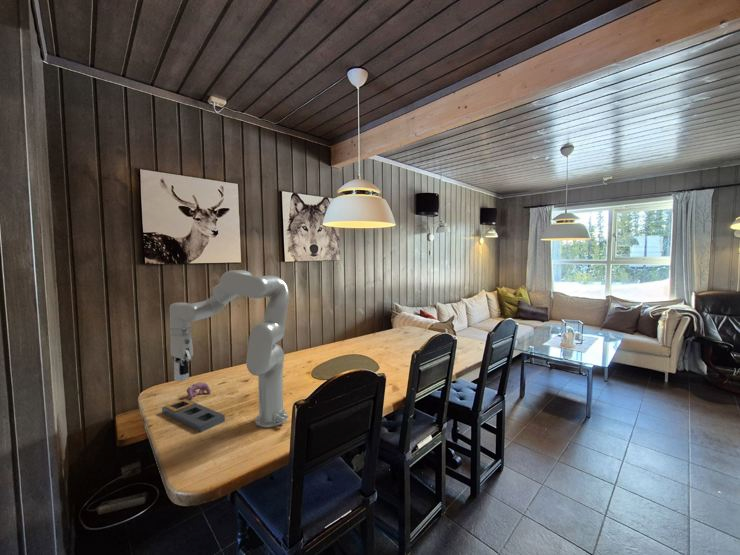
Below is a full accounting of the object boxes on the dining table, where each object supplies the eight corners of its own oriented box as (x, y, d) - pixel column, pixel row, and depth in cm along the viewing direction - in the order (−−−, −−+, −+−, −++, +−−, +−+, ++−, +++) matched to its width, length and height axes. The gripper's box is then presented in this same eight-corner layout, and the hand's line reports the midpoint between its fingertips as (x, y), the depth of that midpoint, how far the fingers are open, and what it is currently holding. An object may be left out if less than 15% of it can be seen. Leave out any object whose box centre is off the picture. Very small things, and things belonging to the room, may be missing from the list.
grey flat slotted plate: (224, 421, 127) (224, 414, 127) (200, 432, 119) (200, 425, 119) (185, 404, 143) (185, 398, 143) (162, 413, 135) (161, 406, 135)
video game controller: (208, 394, 157) (205, 381, 159) (212, 392, 154) (208, 379, 156) (187, 401, 149) (184, 387, 151) (190, 399, 147) (187, 385, 148)
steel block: (188, 378, 135) (188, 360, 134) (179, 381, 131) (178, 363, 131) (183, 377, 137) (183, 359, 137) (174, 379, 134) (173, 361, 133)
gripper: (200, 332, 132) (201, 374, 133) (179, 327, 141) (180, 367, 142) (182, 335, 126) (183, 379, 127) (161, 330, 134) (162, 371, 135)
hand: (181, 372), depth 134 cm, fingers closed on steel block, 4 cm apart
